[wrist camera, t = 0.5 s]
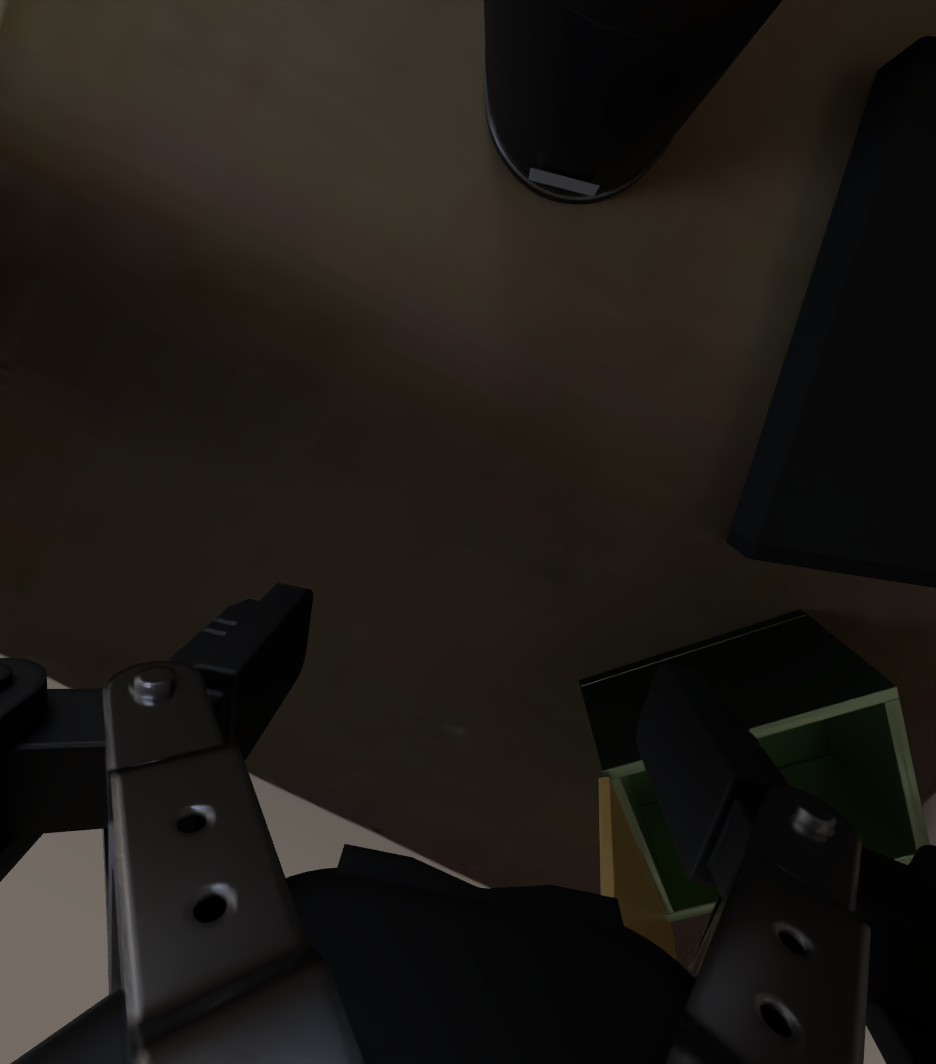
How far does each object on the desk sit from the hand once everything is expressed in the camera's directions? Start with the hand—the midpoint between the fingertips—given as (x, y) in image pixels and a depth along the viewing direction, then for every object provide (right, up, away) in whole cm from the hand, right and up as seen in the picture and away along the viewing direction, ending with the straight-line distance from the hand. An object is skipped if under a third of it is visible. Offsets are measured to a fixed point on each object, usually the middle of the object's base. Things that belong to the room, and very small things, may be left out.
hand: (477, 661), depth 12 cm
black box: (+16, -9, +23) cm, 30 cm away
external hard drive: (+24, +12, +16) cm, 31 cm away
